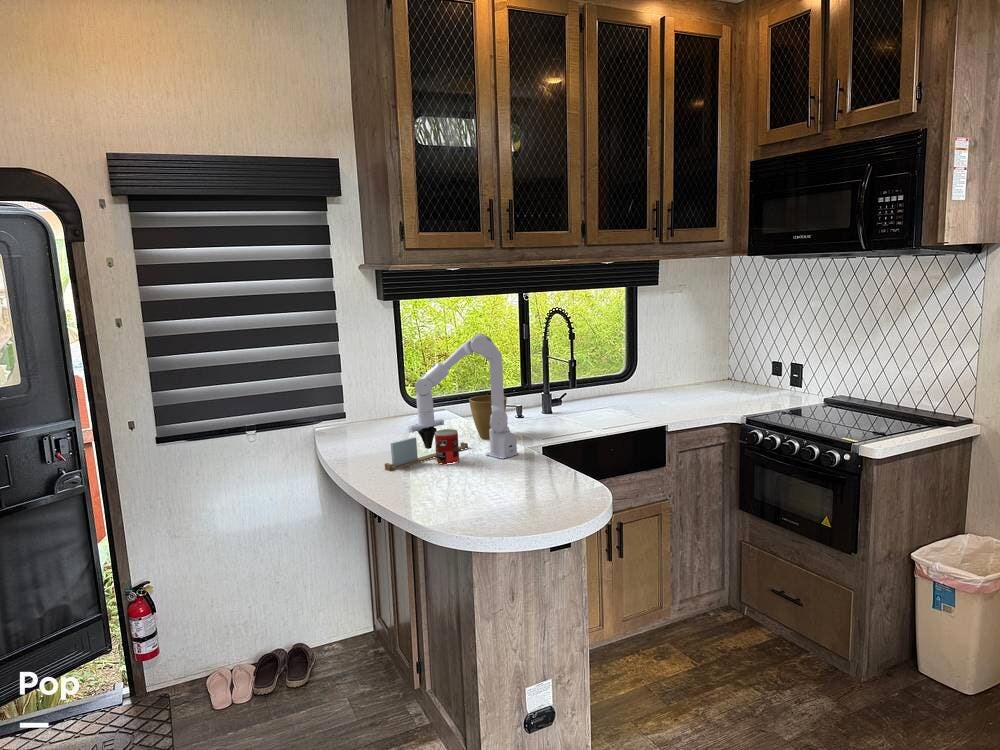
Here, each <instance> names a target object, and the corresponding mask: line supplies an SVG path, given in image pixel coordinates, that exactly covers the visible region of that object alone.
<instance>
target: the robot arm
mask: <svg viewBox="0 0 1000 750" xmlns="http://www.w3.org/2000/svg"><path fill="white" fill-rule="evenodd" d="M473 353H475V354H477V355H478V356H481V357H484V359H485V360H487V361H488V362H489V377H490V395H491V400H492V414H491V416H490V427H491V429H489V433H490V440H489V445H490V446H489V447H490V448H489V449H490V452H486V453H485V456H488V455H489V456H488V457H492V456H494V457H493V458H497V457H498V459H501V458H502V459H503V460H504V458H505V459H508V458H510V457H515V456H517V454H518V455H519V454H520V453H519V452H518V447H517V444H518V443H517V437H516V435H515V433H513V432H511V431H510V427H508V415H507V412H506V410H505V409H504V396H505V394H504V372H503V371H504V369H503V355H502V353H501V351H500V350H499V348H498V347H497V346H496V344H495V343H494V342H493V340H492V339H491V337H489V336H487V335H485V334H484V333H477V334H475V335H473V337H472V338H469V339H467V340H466V341H465V342H464V343H462V344H461V345H460V346H459V347H458V348H457V349H456V350H455V351H454V352H453V353H451V354H450V356H449V357H447V358H446V359H445V361H443V362H436V363H432V365H431V368H430V369H429V370H427V371H426V373H423V374H422V375H421V377H420V378H419V379H418V380H417V381H416V382H415V384H414V391H415V392H416V396H415V397H416V409H417V423H416V424H413V425H411V426H408V433H411V434H414V433H416V432H417V433H418V434H419V436H420V438H421V440H422V442H423V446H424V448H425V449H432V447H433V442H434V439H435V432H436V431H438V430H437V429H438V428H437V427H438V426H444V425H445V420H444V419H442V418H439V419H435V414H434V413H435V412H434V411H435V410H434V399H433V392H432V389H433V388H434V387H437V385H439V384H440V383H441V381H443V380H444V379H445V378H447V377H448V376H449V369H451V368H452V367H454V366H455V365H456V364H457V363H458V362H459V361H460V360H462V358H464V357H466V356H469V355H473ZM514 455H515V456H514ZM507 457H508V458H507Z"/></svg>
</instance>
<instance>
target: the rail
mask: <svg viewBox="0 0 1000 750" xmlns="http://www.w3.org/2000/svg"><path fill="white" fill-rule="evenodd" d="M458 446H459V450H461V449H465V448H468V449H469V444H468V443H467V442H460V444H459V445H458ZM465 450H466V449H465ZM461 451H462V450H461ZM433 457H436V452H435V453H431V454H428V455H424V456H421V457H420V456H419V457H418V460H416V461H412V462H409V463H405V464H402V465H398V466H392V463H389V462H387V463H384V470H385V471H389V472H390V471H394V470H397V469H400V468H404V467H408V466H412V465H415V464H418V463H417V462H419V463H422V462H425V461H424V460H426V461H428V460H427V459H430V458H433ZM433 459H434V458H433ZM430 460H431V459H430ZM421 461H422V462H421ZM414 463H415V464H414Z"/></svg>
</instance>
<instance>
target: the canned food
mask: <svg viewBox="0 0 1000 750" xmlns="http://www.w3.org/2000/svg"><path fill="white" fill-rule="evenodd" d="M434 440H435V441H434V442H435V443H434V444H435V453H436V458H435V459H436V463H437V462H438V463H442V464H447V463H453V462H457V461H458V462H460V451H459V446H460V445H459V435H458V430H457V429H453V428H449V429H448V428H445V429H440V430H437V431H436V432H435V435H434ZM458 462H457V463H458ZM438 463H437V464H438Z"/></svg>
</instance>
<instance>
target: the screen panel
mask: <svg viewBox="0 0 1000 750" xmlns="http://www.w3.org/2000/svg"><path fill="white" fill-rule="evenodd" d="M417 442H418V441H417V437H415V436H414V437H409V438H405V439H402V440H398V441H394V442H390V450H391V451H390V452H391V464H392V466H398V465H402V464H405V463H409V462H412V461H416V460H418V458H419V457H418V445H417V444H418V443H417Z"/></svg>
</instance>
